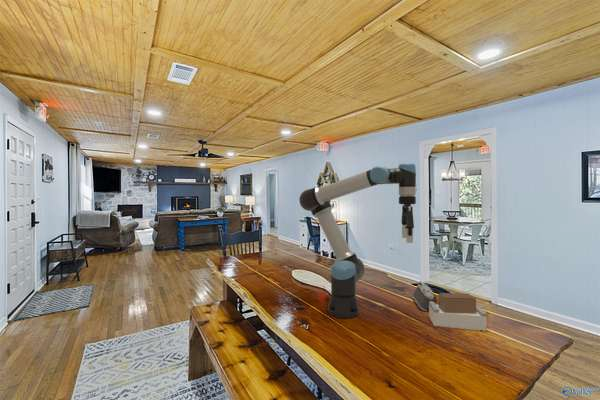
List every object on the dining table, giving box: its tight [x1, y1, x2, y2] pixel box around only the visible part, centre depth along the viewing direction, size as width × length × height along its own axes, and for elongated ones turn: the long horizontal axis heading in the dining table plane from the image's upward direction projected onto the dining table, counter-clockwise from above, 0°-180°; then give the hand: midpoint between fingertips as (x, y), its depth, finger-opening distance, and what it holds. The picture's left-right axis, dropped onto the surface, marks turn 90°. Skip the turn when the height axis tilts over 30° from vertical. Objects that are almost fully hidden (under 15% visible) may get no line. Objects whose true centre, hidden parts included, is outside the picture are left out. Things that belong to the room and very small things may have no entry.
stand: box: [428, 301, 488, 332], centre depth 117 cm, size 20×9×7 cm, turn 77°
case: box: [437, 292, 477, 313], centre depth 117 cm, size 13×6×6 cm, turn 85°
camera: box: [412, 282, 438, 312], centre depth 137 cm, size 9×16×10 cm, turn 172°
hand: (407, 240), depth 129 cm, fingers open, 13 cm apart
